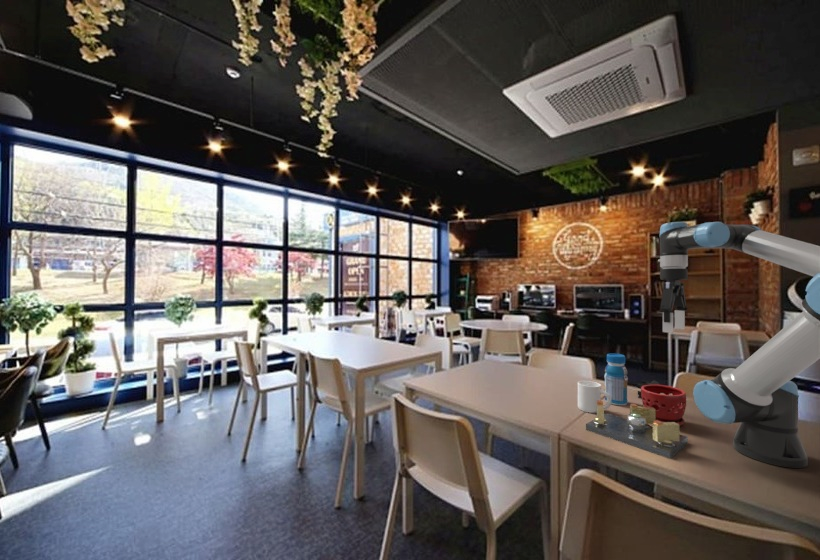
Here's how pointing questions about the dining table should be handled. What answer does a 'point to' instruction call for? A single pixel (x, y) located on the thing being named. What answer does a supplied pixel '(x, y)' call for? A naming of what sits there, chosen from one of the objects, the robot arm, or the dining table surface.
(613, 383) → the beverage bottle
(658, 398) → the plant pot
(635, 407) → the knob rear
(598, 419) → the knob
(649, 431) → the levelling plate
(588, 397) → the mug
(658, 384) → the end cap
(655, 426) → the knob
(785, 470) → the dining table surface
